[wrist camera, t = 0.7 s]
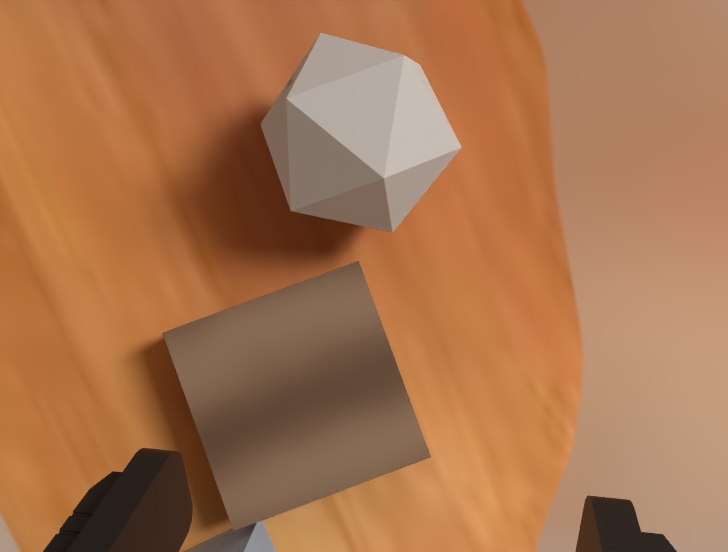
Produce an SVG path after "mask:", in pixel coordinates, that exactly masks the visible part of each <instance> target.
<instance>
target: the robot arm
mask: <svg viewBox="0 0 728 552" xmlns="http://www.w3.org/2000/svg"><path fill="white" fill-rule="evenodd" d="M191 520H192V500H191V496H190V491H189V487H188V482H187V478H186V473H185V468H184V464H183V459H182V456H181V454H180V453H179V452H177V451H168V450H158V449H149V448H142V449H140V450H139V451H138V452H137V453H136V454H135V455H134V457H133V458H132V459H131V461H130V462H129V464H128V465H127V467H126V468H125V469H124V471H123V472H114V471H113V472H111V473H110V474H109V475H107V476H106V477H105V478H104V479H102V480H101V481H100V482H98V483H97V484H96V485H95V486H93V487H92V488H91V489H89V491H88V492H87V493H86V495H85V496H84V497H83V499H82V500H81V501H80V503H79V504H78V505H77V507H76V508H75V509H74V511H73V515H72V516H69V518H68V519H67V520H66V522H65V523H64V524H63V526H62V527H61V528H60V532H59V534H56V535H55V536H54V538H53V539H52V540H51V542H50V543H49V544H48V546H47V547H46V548H45V550H44V551H43V552H179V550H180V548H181V546H182V544H183V542H184V540H185V538H186V536H187V534H188V531H189V528H190V524H191ZM576 552H677V551H676V550H675V549H674V548H673V546H672V545H671V544H670V543H669V541H668V540H667V539H666V538H665V536H664V535H663V534H655V533H645V532H641V530H640V527H639V524H638V520H637V516H636V512H635V509H634V506H633V504H632V502H631V501H630V500H625V499H615V498H605V497H596V496H587V497H586V500H585V504H584V509H583V515H582V520H581V525H580V531H579V536H578V541H577V547H576Z"/></svg>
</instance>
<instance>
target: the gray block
mask: <svg viewBox="0 0 728 552" xmlns="http://www.w3.org/2000/svg"><path fill="white" fill-rule="evenodd" d="M184 552H277V551H276V549H275V547H274V545H273V543H272V541H271V538H270V536H269V534H268V532H267V530H266V528H265V525H264V523H263V521H259V522H257V523H254V524H251V525H249V526H246V527H243V528H241V529H238V530H235V531H233V529H230V530H228V531H226V532H224V533H222V534H220V535H218V536H216V537H214V538H212V539H210V540H207V541H205V542H203V543H201V544H199V545H197V546H195V547H193V548H191V549H189V550H187V551H184Z"/></svg>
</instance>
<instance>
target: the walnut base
mask: <svg viewBox="0 0 728 552" xmlns="http://www.w3.org/2000/svg"><path fill="white" fill-rule="evenodd" d="M163 336H164V339H165V341H166V344H167V347H168V350H169V353H170V355H171V358H172V361H173V364H174V367H175V369H176V372H177V375H178V378H179V381H180V383H181V386H182V389H183V392H184V394H185V397H186V400H187V403H188V406H189V408H190V411H191V414H192V417H193V420H194V422H195V425H196V428H197V431H198V434H199V436H200V439H201V442H202V445H203V448H204V450H205V453H206V456H207V459H208V461H209V464H210V467H211V470H212V473H213V475H214V478H215V481H216V484H217V487H218V489H219V492H220V495H221V498H222V501H223V503H224V506H225V509H226V512H227V515H228V517H229V520H230V523H231V526H232V528H233V531H235V530H238V529H241V528H243V527H246V526H249V525H251V524H254V523H257V522H259V521H262V520H265V519H267V518H270V517H273V516H275V515H278V514H281V513H283V512H286V511H289V510H291V509H294V508H297V507H299V506H302V505H305V504H307V503H310V502H313V501H315V500H318V499H321V498H323V497H326V496H329V495H331V494H334V493H337V492H339V491H342V490H345V489H347V488H350V487H353V486H355V485H358V484H361V483H363V482H366V481H369V480H371V479H374V478H377V477H379V476H382V475H385V474H387V473H390V472H393V471H395V470H398V469H401V468H403V467H406V466H409V465H411V464H414V463H417V462H419V461H422V460H425V459H427V458H430V457H431V456H430V454H429V451H428V448H427V446H426V443H425V440H424V437H423V435H422V432H421V429H420V427H419V424H418V421H417V418H416V416H415V413H414V410H413V407H412V405H411V402H410V399H409V397H408V394H407V391H406V388H405V386H404V383H403V380H402V378H401V375H400V372H399V369H398V367H397V364H396V361H395V359H394V356H393V353H392V350H391V348H390V345H389V342H388V340H387V337H386V334H385V331H384V329H383V326H382V323H381V321H380V318H379V315H378V312H377V310H376V307H375V304H374V302H373V299H372V296H371V293H370V291H369V288H368V285H367V283H366V280H365V277H364V274H363V272H362V269H361V266H360V264H359V261H357V262H354V263H352V264H349V265H346V266H344V267H341V268H338V269H335V270H333V271H330V272H327V273H324V274H322V275H319V276H316V277H314V278H311V279H308V280H305V281H303V282H300V283H297V284H294V285H292V286H289V287H286V288H284V289H281V290H278V291H275V292H273V293H270V294H267V295H264V296H262V297H259V298H256V299H254V300H251V301H248V302H245V303H243V304H240V305H237V306H234V307H232V308H229V309H226V310H224V311H221V312H218V313H215V314H213V315H210V316H207V317H205V318H202V319H199V320H196V321H194V322H191V323H188V324H185V325H183V326H180V327H177V328H175V329H172V330H169V331H166V332H164V333H163Z"/></svg>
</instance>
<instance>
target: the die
mask: <svg viewBox="0 0 728 552" xmlns="http://www.w3.org/2000/svg"><path fill="white" fill-rule="evenodd" d="M260 125H261V128H262V131H263V134H264V136H265V139H266V142H267V145H268V148H269V151H270V154H271V156H272V159H273V162H274V165H275V168H276V171H277V173H278V176H279V179H280V182H281V185H282V188H283V191H284V193H285V196H286V199H287V202H288V205H289V208H290V210H291V211H293V212H297V213H302V214H307V215H312V216H316V217H321V218H326V219H331V220H335V221H340V222H345V223H350V224H354V225H359V226H364V227H369V228H374V229H378V230H383V231H388V232H393V231H394V230H395V229H396V228H397V227H398V225H399V224H400V223H401V222H402V220H403V219H404V218H405V217H406V215H407V214H408V213H409V212H410V210H411V209H412V208H413V207H414V206H415V204H416V203H417V202H418V201H419V199H420V198H421V197H422V196H423V194H424V193H425V192H426V191H427V189H428V188H429V187H430V186H431V185H432V183H433V182H434V181H435V180H436V178H437V177H438V176H439V175H440V173H441V172H442V171H443V170H444V168H445V167H446V166H447V165H448V164H449V162H450V161H451V160H452V159H453V157H454V156H455V155H456V154H457V152H458V151H459V150H460V149H461V145H460V143H459V141H458V140H457V138H456V136H455V134H454V132H453V130H452V128H451V126H450V124H449V122H448V120H447V118H446V116H445V114H444V112H443V110H442V108H441V106H440V104H439V102H438V100H437V98H436V96H435V94H434V92H433V90H432V88H431V86H430V84H429V82H428V80H427V78H426V76H425V74H424V72H423V70H422V68H421V66H420V65H419V64H417V63H416V62H414V61H413V60H411V59H409V58H408V57H406V56H405V55H402V54H398V53H394V52H391V51H387V50H383V49H380V48H376V47H372V46H368V45H365V44H361V43H357V42H353V41H350V40H346V39H342V38H339V37H335V36H331V35H327V34H324V33H320V35H319V36H318V38H317V39H316V41H315V42H314V44H313V45H312V47H311V48H310V50H309V51H308V53H307V54H306V56H305V57H304V59H303V60H302V62H301V63H300V65H299V66H298V68H297V69H296V71H295V72H294V74H293V75H292V77H291V78H290V80H289V81H288V83H287V84H286V86H285V87H284V89H283V90H282V92H281V93H280V95H279V96H278V98H277V99H276V101H275V102H274V104H273V106H272V107H271V109H270V110H269V112H268V113H267V115H266V116H265V118H264V119H263V121H262V122H261V124H260Z"/></svg>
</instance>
